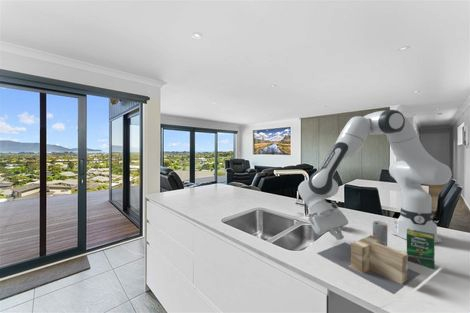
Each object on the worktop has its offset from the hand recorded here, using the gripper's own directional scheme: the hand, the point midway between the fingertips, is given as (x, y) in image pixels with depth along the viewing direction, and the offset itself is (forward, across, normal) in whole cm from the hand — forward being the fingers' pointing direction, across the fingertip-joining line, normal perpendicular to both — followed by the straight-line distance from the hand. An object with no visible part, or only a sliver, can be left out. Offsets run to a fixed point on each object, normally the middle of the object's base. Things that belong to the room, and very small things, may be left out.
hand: (341, 239), depth 86 cm
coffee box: (+19, +18, -10) cm, 28 cm away
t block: (+15, -1, -7) cm, 17 cm away
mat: (+11, 0, -2) cm, 11 cm away
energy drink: (+10, +18, 0) cm, 20 cm away
